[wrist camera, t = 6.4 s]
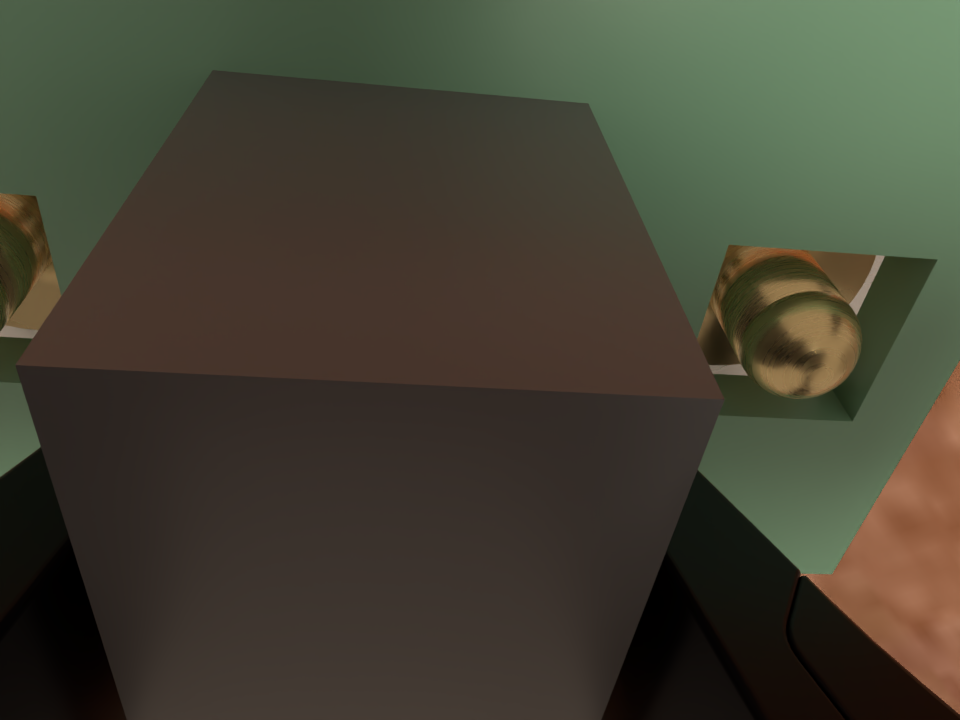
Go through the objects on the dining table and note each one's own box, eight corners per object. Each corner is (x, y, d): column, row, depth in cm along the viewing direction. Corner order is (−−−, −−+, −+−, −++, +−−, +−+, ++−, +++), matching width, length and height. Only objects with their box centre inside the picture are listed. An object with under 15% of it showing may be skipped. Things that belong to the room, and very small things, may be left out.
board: (1129, -57, 9) (1935, 163, 4) (810, 530, 15) (990, 894, 10) (-466, -250, 7) (-2206, -245, 2) (-97, 503, 13) (-393, 925, 8)
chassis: (1079, -269, 11) (1555, -283, 6) (757, 457, 19) (860, 676, 15) (-368, -487, 9) (-1202, -735, 4) (-24, 426, 17) (-183, 669, 13)
